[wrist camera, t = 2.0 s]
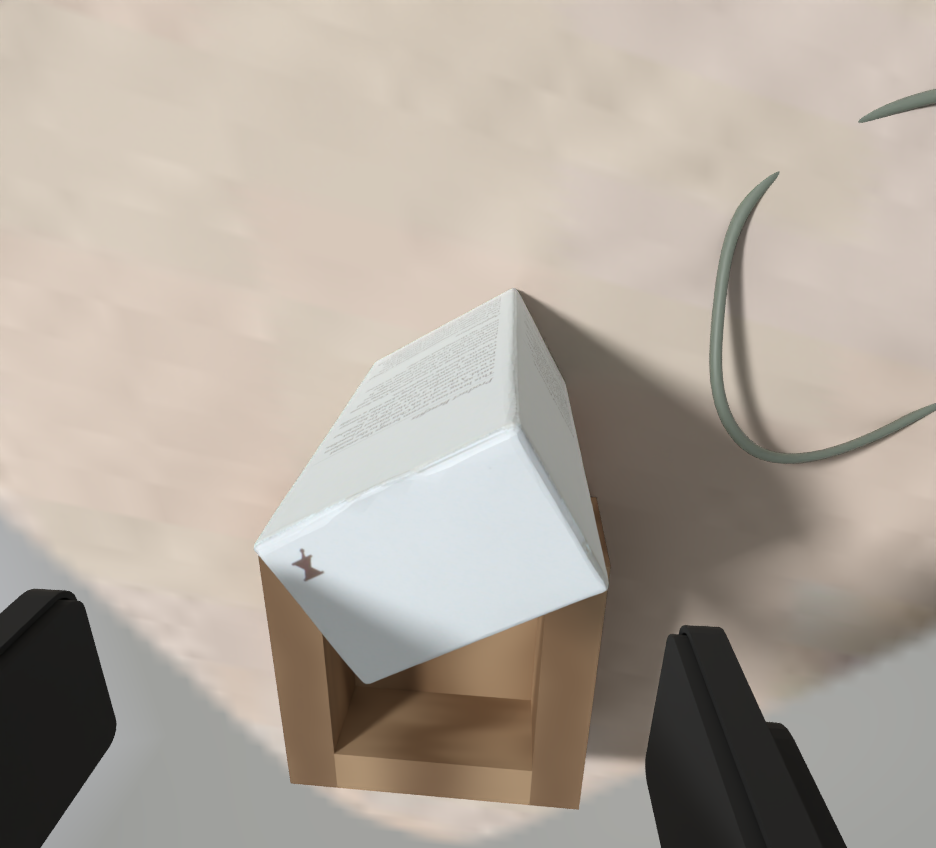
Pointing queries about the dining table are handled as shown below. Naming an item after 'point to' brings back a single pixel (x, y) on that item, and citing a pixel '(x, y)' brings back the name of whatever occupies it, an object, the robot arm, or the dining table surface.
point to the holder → (444, 708)
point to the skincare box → (442, 499)
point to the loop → (719, 312)
